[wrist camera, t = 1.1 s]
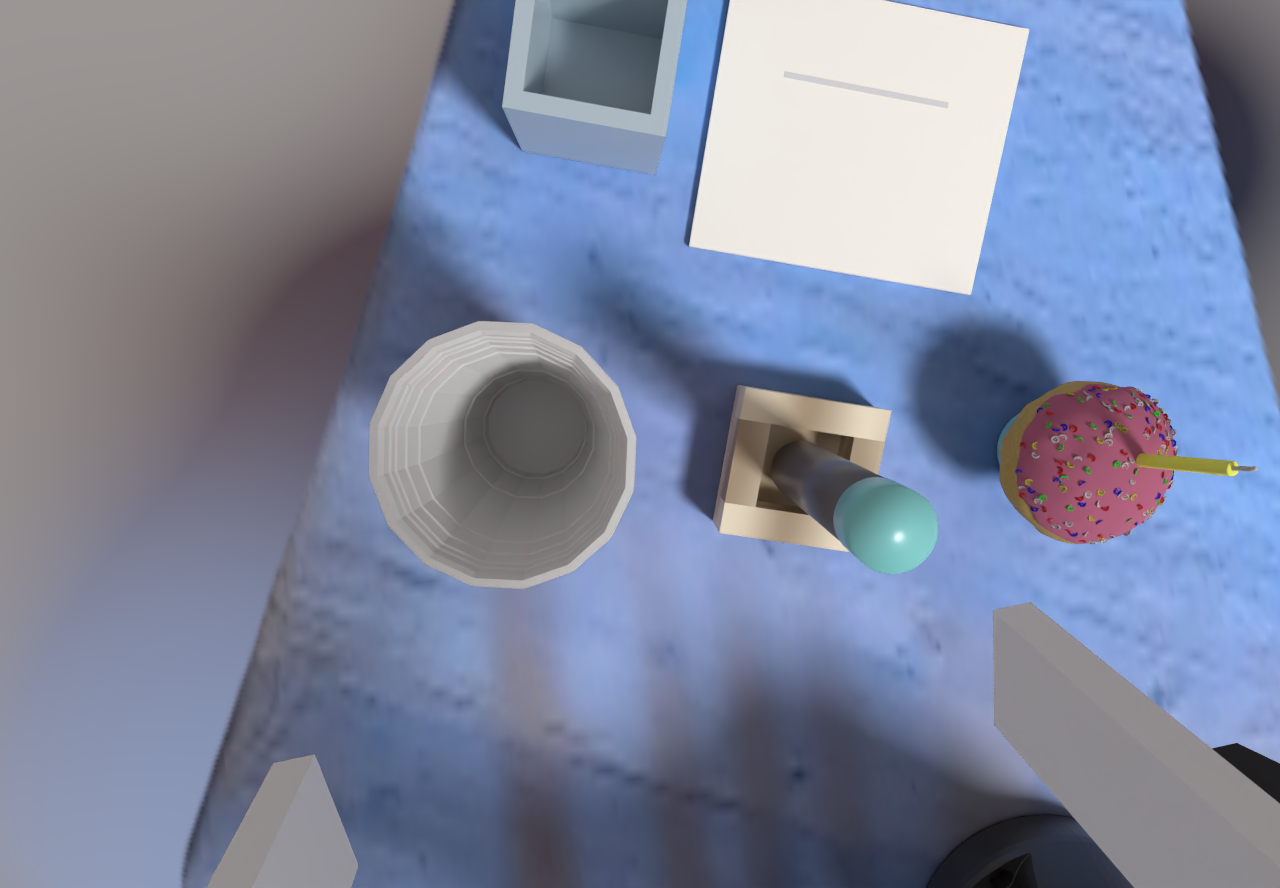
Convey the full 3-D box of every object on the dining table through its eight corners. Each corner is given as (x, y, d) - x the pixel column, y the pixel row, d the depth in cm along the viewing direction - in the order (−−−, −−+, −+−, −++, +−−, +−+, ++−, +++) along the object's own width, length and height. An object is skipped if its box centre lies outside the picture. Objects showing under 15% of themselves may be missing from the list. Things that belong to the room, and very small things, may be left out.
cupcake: (1070, 349, 40) (1265, 351, 28) (1130, 475, 41) (1341, 527, 29) (938, 424, 40) (1076, 458, 28) (1002, 547, 41) (1159, 629, 30)
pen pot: (677, 33, 37) (693, -39, 30) (655, 175, 38) (665, 137, 31) (541, 7, 36) (524, -73, 29) (522, 151, 37) (502, 106, 30)
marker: (828, 441, 40) (946, 494, 26) (817, 498, 40) (927, 579, 26) (772, 433, 39) (860, 480, 25) (761, 489, 40) (842, 567, 26)
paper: (1026, 31, 37) (1029, 29, 37) (968, 295, 39) (971, 294, 39) (734, -27, 36) (735, -30, 36) (688, 246, 38) (689, 245, 38)
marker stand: (873, 406, 40) (891, 410, 37) (846, 540, 41) (861, 553, 38) (737, 384, 39) (745, 387, 37) (712, 521, 40) (719, 532, 38)
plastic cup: (509, 286, 38) (464, 260, 26) (667, 403, 39) (692, 429, 27) (397, 445, 39) (305, 489, 27) (555, 554, 40) (533, 641, 28)
